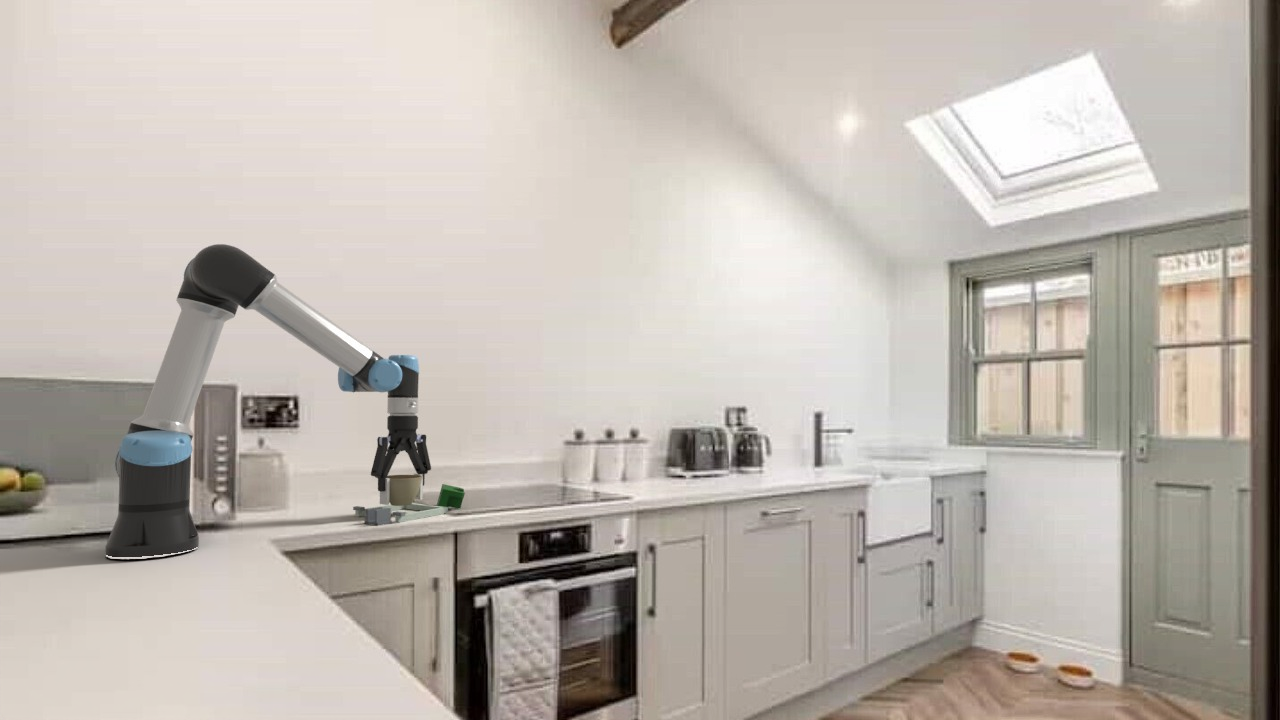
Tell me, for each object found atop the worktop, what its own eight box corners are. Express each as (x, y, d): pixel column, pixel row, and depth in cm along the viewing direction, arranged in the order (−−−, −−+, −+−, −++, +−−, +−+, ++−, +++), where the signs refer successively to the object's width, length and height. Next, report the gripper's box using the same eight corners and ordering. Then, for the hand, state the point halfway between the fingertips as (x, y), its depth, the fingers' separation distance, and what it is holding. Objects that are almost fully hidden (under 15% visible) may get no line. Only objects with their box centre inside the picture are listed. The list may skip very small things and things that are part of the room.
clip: (378, 525, 168) (378, 510, 169) (364, 523, 171) (364, 508, 171) (391, 523, 172) (392, 508, 172) (378, 521, 175) (378, 506, 175)
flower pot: (395, 508, 177) (396, 479, 177) (373, 505, 183) (373, 476, 183) (429, 503, 185) (430, 476, 185) (406, 500, 191) (407, 473, 191)
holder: (401, 522, 172) (401, 513, 172) (353, 515, 182) (353, 506, 182) (450, 513, 186) (450, 504, 186) (403, 507, 195) (403, 499, 195)
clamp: (455, 525, 192) (464, 497, 190) (433, 521, 191) (442, 492, 188) (459, 502, 204) (467, 475, 201) (438, 498, 202) (446, 470, 200)
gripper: (375, 416, 173) (374, 508, 172) (446, 413, 192) (445, 497, 191) (355, 415, 177) (354, 506, 176) (426, 413, 196) (425, 495, 195)
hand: (401, 501), depth 184 cm, fingers closed on flower pot, 10 cm apart
